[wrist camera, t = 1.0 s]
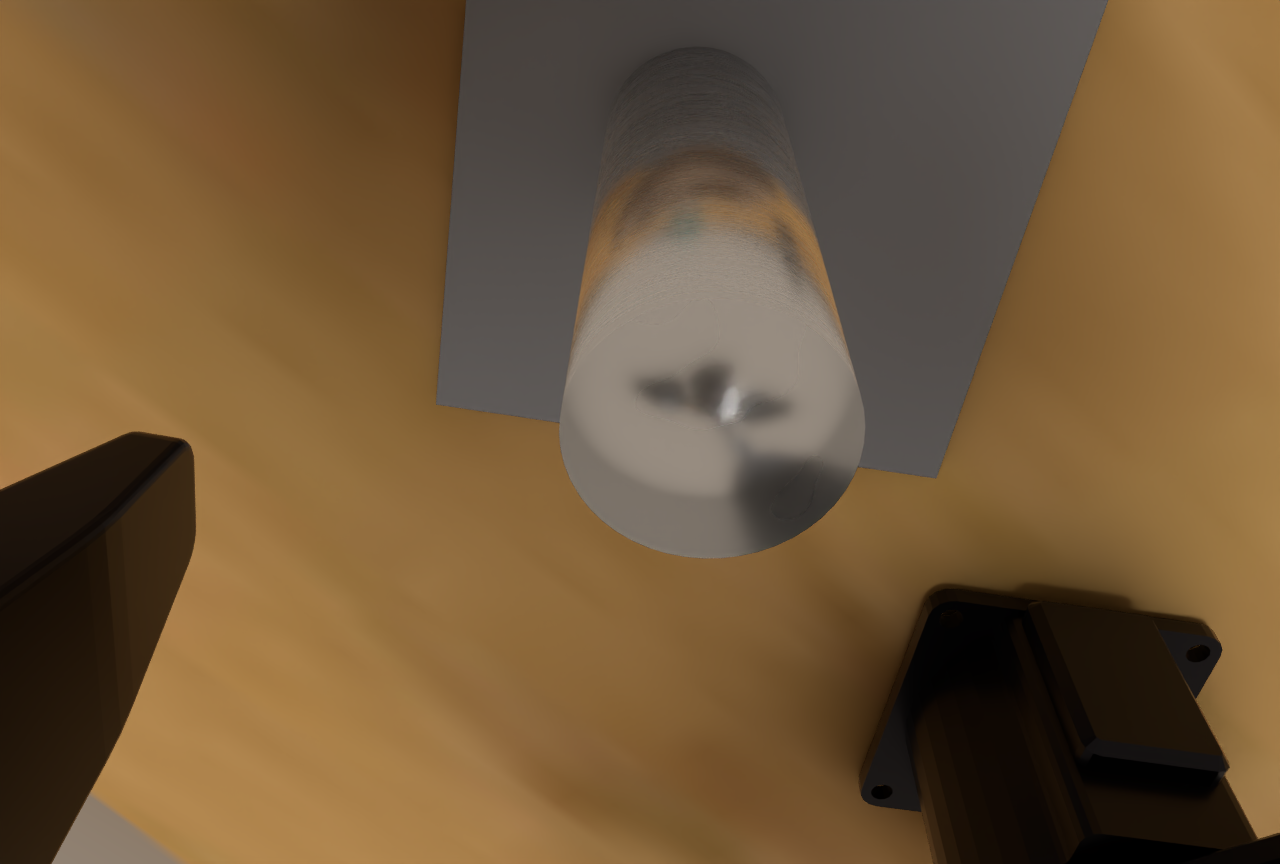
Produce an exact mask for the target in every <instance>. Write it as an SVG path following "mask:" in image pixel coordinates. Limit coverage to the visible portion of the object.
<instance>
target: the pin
mask: <svg viewBox="0 0 1280 864" xmlns="http://www.w3.org/2000/svg"><path fill="white" fill-rule="evenodd" d="M559 437H560V448H561V453H562V457H563V461H564V465H565V468H566V470H567V473H568V475H569V477H570V480H571V482H572V484H573V485H574V487H575V489H576V490H577V492H578V494H579V495H580V497H581V498H582V499H583V501H584V502H585V503H586V504H587V506H588V507H589V508H590V509H591V510H592V511H593V512H594V513H595V514H596V515H597V516H598V517H599V518H600V519H601V520H602V521H603V522H605V523H606V524H607V525H609V526H610V527H611V528H613V529H614V530H615V531H617V532H618V533H620V534H622V535H623V536H625V537H627V538H629V539H630V540H632V541H634V542H637V543H639V544H641V545H644V546H646V547H648V548H651V549H654V550H658V551H661V552H664V553H668V554H673V555H678V556H683V557H693V558H726V557H735V556H742V555H746V554H751V553H755V552H759V551H762V550H765V549H768V548H771V547H774V546H776V545H779V544H781V543H783V542H785V541H787V540H789V539H791V538H793V537H795V536H797V535H798V534H800V533H801V532H803V531H805V530H806V529H808V528H809V527H811V526H812V525H813V524H814V523H816V522H817V521H818V520H819V519H821V518H822V517H823V516H824V515H825V514H826V513H827V512H828V511H829V510H830V509H831V508H832V507H833V506H834V505H835V504H836V502H837V501H838V500H839V498H840V497H841V496H842V495H843V493H844V492H845V491H846V489H847V487H848V485H849V484H850V482H851V480H852V478H853V477H854V474H855V472H856V469H857V467H858V464H859V462H860V458H861V454H862V450H863V446H864V437H865V416H864V407H863V403H862V399H861V395H860V391H859V387H858V384H857V380H856V377H855V373H854V369H853V366H852V362H851V359H850V355H849V351H848V348H847V344H846V341H845V337H844V333H843V330H842V326H841V323H840V319H839V315H838V312H837V308H836V305H835V301H834V297H833V294H832V290H831V287H830V283H829V280H828V276H827V272H826V269H825V265H824V262H823V258H822V254H821V251H820V247H819V244H818V240H817V236H816V233H815V229H814V226H813V222H812V218H811V215H810V211H809V208H808V204H807V200H806V197H805V193H804V190H803V186H802V182H801V179H800V175H799V172H798V168H797V164H796V161H795V157H794V154H793V150H792V146H791V143H790V139H789V136H788V132H787V128H786V125H785V121H784V118H783V114H782V110H781V107H780V104H779V102H778V99H777V97H776V95H775V93H774V91H773V89H772V88H771V86H770V84H769V83H768V82H767V80H766V79H765V78H764V77H763V75H762V74H761V73H760V72H759V71H758V70H757V69H755V68H754V67H753V66H752V65H750V64H749V63H748V62H746V61H745V60H743V59H741V58H740V57H738V56H736V55H734V54H731V53H729V52H726V51H723V50H719V49H715V48H709V47H685V48H679V49H674V50H671V51H668V52H665V53H662V54H660V55H658V56H656V57H654V58H652V59H650V60H649V61H647V62H646V63H644V64H643V65H642V66H640V67H639V68H638V69H637V70H636V71H634V72H633V73H632V75H631V76H630V77H629V78H628V79H627V80H626V81H625V83H624V84H623V86H622V87H621V88H620V90H619V92H618V93H617V95H616V97H615V99H614V101H613V104H612V107H611V110H610V113H609V118H608V122H607V128H606V134H605V141H604V147H603V153H602V159H601V166H600V172H599V178H598V184H597V190H596V197H595V203H594V209H593V215H592V221H591V228H590V234H589V240H588V246H587V252H586V259H585V265H584V271H583V277H582V284H581V290H580V296H579V302H578V308H577V315H576V321H575V327H574V333H573V339H572V346H571V352H570V358H569V364H568V370H567V377H566V383H565V389H564V395H563V402H562V408H561V414H560V427H559Z"/></svg>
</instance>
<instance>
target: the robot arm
mask: <svg viewBox="0 0 1280 864" xmlns="http://www.w3.org/2000/svg"><path fill="white" fill-rule="evenodd" d="M195 535H196V511H195V474H194V455H193V452H192V449H191V446H190V445H189V444H188V443H187V442H186V441H185V440H184V439H180V438H174V437H168V436H163V435H157V434H151V433H145V432H130V433H127V434H124V435H122V436H119V437H117V438H115V439H113V440H111V441H108V442H106V443H104V444H102V445H99V446H97V447H95V448H93V449H90V450H88V451H86V452H84V453H81V454H79V455H77V456H75V457H72V458H70V459H68V460H66V461H63V462H61V463H59V464H57V465H54V466H52V467H50V468H48V469H45V470H43V471H41V472H39V473H36V474H34V475H32V476H30V477H27V478H25V479H23V480H21V481H18V482H16V483H14V484H12V485H9V486H7V487H5V488H3V489H0V864H52V862H53V860H54V858H55V856H56V854H57V852H58V851H59V849H60V847H61V845H62V843H63V841H64V840H65V838H66V836H67V834H68V832H69V830H70V829H71V827H72V825H73V823H74V821H75V819H76V817H77V815H78V814H79V812H80V810H81V808H82V806H83V805H84V803H85V801H86V799H87V797H88V795H89V794H90V792H91V790H92V788H93V786H94V784H95V782H96V781H97V779H98V777H99V775H100V773H101V771H102V770H103V768H104V766H105V764H106V762H107V760H108V758H109V756H110V754H111V752H112V750H113V748H114V746H115V744H116V742H117V740H118V738H119V736H120V734H121V732H122V730H123V728H124V725H125V723H126V721H127V718H128V716H129V713H130V711H131V709H132V706H133V704H134V701H135V699H136V696H137V694H138V691H139V689H140V686H141V684H142V681H143V679H144V676H145V674H146V671H147V668H148V666H149V663H150V661H151V658H152V656H153V653H154V651H155V648H156V646H157V643H158V641H159V638H160V635H161V633H162V630H163V628H164V625H165V623H166V620H167V618H168V615H169V613H170V610H171V608H172V605H173V603H174V600H175V597H176V595H177V592H178V590H179V587H180V585H181V582H182V580H183V577H184V575H185V572H186V570H187V567H188V564H189V562H190V559H191V556H192V552H193V548H194V543H195ZM948 610H957V611H956V613H954V614H952V615H947V616H943V615H942V613H944V612H946V611H948ZM1196 645H1200V646H1199V647H1197V648H1194V649H1190V648H1191V647H1194V646H1196ZM1221 653H1222V647H1221V643H1220V642H1219V640H1218V638H1217V637H1216V635H1215V633H1214V632H1213V630H1212V629H1210V628H1209V627H1208V626H1205V625H1202V624H1198V623H1191V622H1184V621H1177V620H1170V619H1162V618H1155V617H1148V616H1145V615H1138V614H1131V613H1124V612H1117V611H1110V610H1103V609H1096V608H1089V607H1082V606H1075V605H1068V604H1060V603H1053V602H1046V601H1036V600H1028V599H1021V598H1014V597H1007V596H1000V595H993V594H986V593H979V592H972V591H965V590H958V589H944V590H941V591H938V592H935V593H934V594H933V595H931V596H930V597H929V598H928V599H927V601H926V602H925V604H924V607H923V610H922V612H921V615H920V618H919V620H918V623H917V625H916V628H915V631H914V633H913V636H912V639H911V641H910V644H909V646H908V649H907V652H906V654H905V657H904V660H903V662H902V665H901V667H900V670H899V673H898V675H897V678H896V681H895V683H894V686H893V689H892V691H891V694H890V696H889V699H888V702H887V704H886V707H885V710H884V712H883V715H882V717H881V720H880V723H879V725H878V728H877V731H876V733H875V736H874V738H873V741H872V744H871V746H870V749H869V752H868V754H867V757H866V760H865V762H864V765H863V767H862V770H861V773H860V775H859V787H860V793H861V796H862V798H863V800H864V801H865V802H867V803H868V804H871V805H874V806H880V807H888V808H895V809H903V810H911V811H919V812H922V815H923V820H924V824H925V828H926V833H927V837H928V842H929V846H930V850H931V855H932V859H933V864H1280V833H1277V834H1273V835H1270V836H1267V837H1263V838H1260V839H1258V838H1257V836H1256V834H1255V832H1254V830H1253V828H1252V826H1251V824H1250V823H1249V821H1248V819H1247V817H1246V815H1245V813H1244V811H1243V809H1242V807H1241V805H1240V803H1239V801H1238V800H1237V798H1236V796H1235V794H1234V792H1233V790H1232V788H1231V786H1230V784H1229V782H1228V780H1227V778H1226V777H1225V774H1226V772H1227V771H1228V769H1229V762H1228V760H1227V758H1226V756H1225V754H1224V752H1223V750H1222V748H1221V747H1220V745H1219V743H1218V741H1217V739H1216V737H1215V735H1214V733H1213V732H1212V730H1211V728H1210V726H1209V724H1208V722H1207V720H1206V718H1205V716H1204V715H1203V713H1202V711H1201V709H1200V707H1199V705H1198V703H1197V701H1196V698H1197V696H1198V694H1199V693H1200V691H1201V689H1202V687H1203V686H1204V684H1205V682H1206V680H1207V679H1208V677H1209V675H1210V674H1211V672H1212V670H1213V668H1214V667H1215V665H1216V663H1217V661H1218V660H1219V658H1220V656H1221ZM878 785H883V786H878Z"/></svg>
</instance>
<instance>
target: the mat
mask: <svg viewBox="0 0 1280 864" xmlns="http://www.w3.org/2000/svg"><path fill="white" fill-rule="evenodd" d="M1107 2H1108V0H466V10H465V24H464V37H463V50H462V64H461V77H460V91H459V104H458V117H457V131H456V144H455V158H454V171H453V184H452V198H451V211H450V224H449V238H448V251H447V265H446V278H445V291H444V305H443V318H442V332H441V345H440V358H439V372H438V385H437V399H436V405H443V406H450V407H457V408H463V409H470V410H477V411H484V412H491V413H497V414H504V415H511V416H518V417H524V418H531V419H538V420H545V421H551V422H558V423H560V414H561V408H562V402H563V395H564V389H565V383H566V377H567V370H568V364H569V358H570V352H571V346H572V339H573V333H574V327H575V321H576V315H577V308H578V302H579V296H580V290H581V284H582V277H583V271H584V265H585V259H586V252H587V246H588V240H589V234H590V228H591V221H592V215H593V209H594V203H595V197H596V190H597V184H598V178H599V172H600V166H601V159H602V153H603V147H604V141H605V134H606V128H607V122H608V118H609V113H610V110H611V107H612V104H613V101H614V99H615V97H616V95H617V93H618V92H619V90H620V88H621V87H622V86H623V84H624V83H625V81H626V80H627V79H628V78H629V77H630V76H631V75H632V73H633V72H634V71H636V70H637V69H638V68H639V67H640V66H642V65H643V64H644V63H646V62H647V61H649V60H650V59H652V58H654V57H656V56H658V55H660V54H662V53H665V52H668V51H671V50H674V49H679V48H685V47H709V48H715V49H719V50H723V51H726V52H729V53H731V54H734V55H736V56H738V57H740V58H741V59H743V60H745V61H746V62H748V63H749V64H750V65H752V66H753V67H754V68H755V69H757V70H758V71H759V72H760V73H761V74H762V75H763V77H764V78H765V79H766V80H767V82H768V83H769V84H770V86H771V88H772V89H773V91H774V93H775V95H776V97H777V99H778V102H779V104H780V107H781V110H782V114H783V118H784V121H785V125H786V128H787V132H788V136H789V139H790V143H791V146H792V150H793V154H794V157H795V161H796V164H797V168H798V172H799V175H800V179H801V182H802V186H803V190H804V193H805V197H806V200H807V204H808V208H809V211H810V215H811V218H812V222H813V226H814V229H815V233H816V236H817V240H818V244H819V247H820V251H821V254H822V258H823V262H824V265H825V269H826V272H827V276H828V280H829V283H830V287H831V290H832V294H833V297H834V301H835V305H836V308H837V312H838V315H839V319H840V323H841V326H842V330H843V333H844V337H845V341H846V344H847V348H848V351H849V355H850V359H851V362H852V366H853V369H854V373H855V377H856V380H857V384H858V387H859V391H860V395H861V399H862V403H863V407H864V416H865V437H864V446H863V450H862V454H861V458H860V462H859V464H858V467H862V468H869V469H876V470H883V471H890V472H896V473H903V474H910V475H917V476H923V477H930V478H936V477H937V475H938V472H939V469H940V466H941V464H942V461H943V458H944V455H945V452H946V450H947V447H948V444H949V441H950V439H951V436H952V433H953V430H954V427H955V425H956V422H957V419H958V416H959V414H960V411H961V408H962V405H963V402H964V400H965V397H966V394H967V391H968V389H969V386H970V383H971V380H972V377H973V375H974V372H975V369H976V366H977V363H978V361H979V358H980V355H981V352H982V350H983V347H984V344H985V341H986V338H987V336H988V333H989V330H990V327H991V325H992V322H993V319H994V316H995V313H996V311H997V308H998V305H999V302H1000V300H1001V297H1002V294H1003V291H1004V288H1005V286H1006V283H1007V280H1008V277H1009V275H1010V272H1011V269H1012V266H1013V263H1014V261H1015V258H1016V255H1017V252H1018V250H1019V247H1020V244H1021V241H1022V238H1023V236H1024V233H1025V230H1026V227H1027V225H1028V222H1029V219H1030V216H1031V213H1032V211H1033V208H1034V205H1035V202H1036V200H1037V197H1038V194H1039V191H1040V188H1041V186H1042V183H1043V180H1044V177H1045V175H1046V172H1047V169H1048V166H1049V163H1050V161H1051V158H1052V155H1053V152H1054V150H1055V147H1056V144H1057V141H1058V138H1059V136H1060V133H1061V130H1062V127H1063V125H1064V122H1065V119H1066V116H1067V113H1068V111H1069V108H1070V105H1071V102H1072V100H1073V97H1074V94H1075V91H1076V88H1077V86H1078V83H1079V80H1080V77H1081V75H1082V72H1083V69H1084V66H1085V63H1086V61H1087V58H1088V55H1089V52H1090V50H1091V47H1092V44H1093V41H1094V38H1095V36H1096V33H1097V30H1098V27H1099V25H1100V22H1101V19H1102V16H1103V13H1104V11H1105V8H1106V5H1107Z"/></svg>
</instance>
